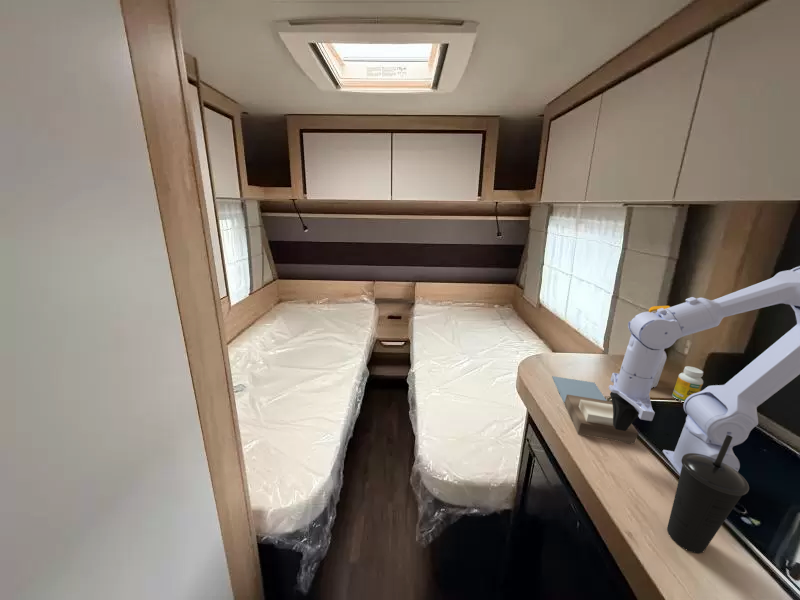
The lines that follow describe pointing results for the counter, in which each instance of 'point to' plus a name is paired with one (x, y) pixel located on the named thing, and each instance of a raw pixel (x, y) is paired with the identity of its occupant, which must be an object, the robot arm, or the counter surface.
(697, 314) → the robot arm
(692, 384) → the supplement bottle
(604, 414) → the tile
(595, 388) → the mat
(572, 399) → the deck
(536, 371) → the counter surface
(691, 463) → the drinking cup
